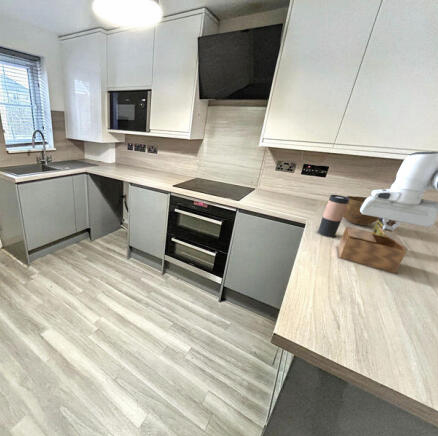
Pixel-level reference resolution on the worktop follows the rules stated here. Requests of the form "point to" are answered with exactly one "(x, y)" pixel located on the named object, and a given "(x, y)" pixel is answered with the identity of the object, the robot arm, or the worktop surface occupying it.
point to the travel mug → (333, 215)
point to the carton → (370, 249)
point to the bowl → (357, 212)
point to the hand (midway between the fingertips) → (387, 230)
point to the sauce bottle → (380, 222)
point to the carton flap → (392, 237)
